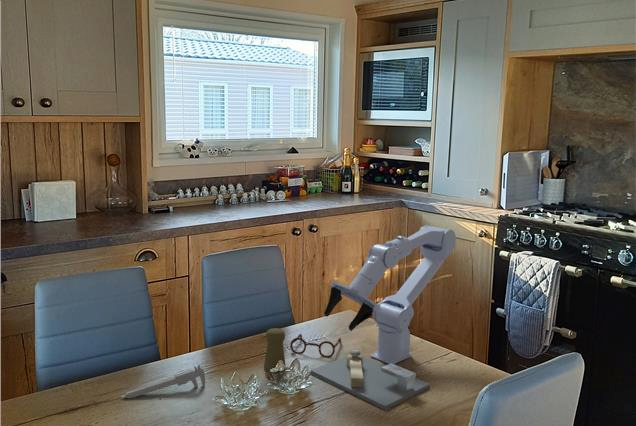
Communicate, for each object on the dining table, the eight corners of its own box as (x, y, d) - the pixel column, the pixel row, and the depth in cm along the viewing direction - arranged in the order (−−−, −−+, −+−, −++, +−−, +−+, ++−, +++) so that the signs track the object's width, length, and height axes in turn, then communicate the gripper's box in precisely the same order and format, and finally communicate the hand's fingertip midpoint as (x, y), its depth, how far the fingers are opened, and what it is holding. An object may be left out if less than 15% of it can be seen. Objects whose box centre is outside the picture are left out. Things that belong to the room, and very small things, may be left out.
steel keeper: (380, 382, 158) (381, 367, 158) (390, 377, 161) (391, 363, 160) (405, 393, 153) (406, 377, 152) (414, 388, 155) (415, 373, 155)
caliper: (204, 386, 156) (204, 362, 154) (205, 387, 155) (205, 364, 153) (120, 398, 148) (120, 374, 147) (121, 400, 147) (120, 375, 146)
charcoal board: (355, 356, 177) (355, 352, 176) (429, 387, 158) (429, 384, 158) (310, 373, 164) (310, 370, 164) (385, 409, 146) (385, 406, 146)
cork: (282, 373, 163) (283, 335, 162) (260, 371, 165) (261, 332, 163) (288, 364, 169) (289, 327, 167) (267, 362, 170) (267, 324, 169)
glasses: (289, 354, 177) (290, 338, 177) (300, 338, 190) (301, 322, 189) (333, 360, 175) (334, 343, 174) (342, 343, 187) (342, 327, 186)
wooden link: (346, 361, 169) (346, 348, 169) (362, 362, 169) (362, 348, 169) (348, 386, 155) (349, 372, 154) (365, 387, 155) (366, 372, 154)
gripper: (341, 262, 164) (312, 302, 158) (387, 287, 157) (359, 329, 152) (344, 274, 169) (316, 313, 164) (389, 299, 163) (362, 340, 158)
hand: (337, 321), depth 158 cm, fingers open, 7 cm apart
